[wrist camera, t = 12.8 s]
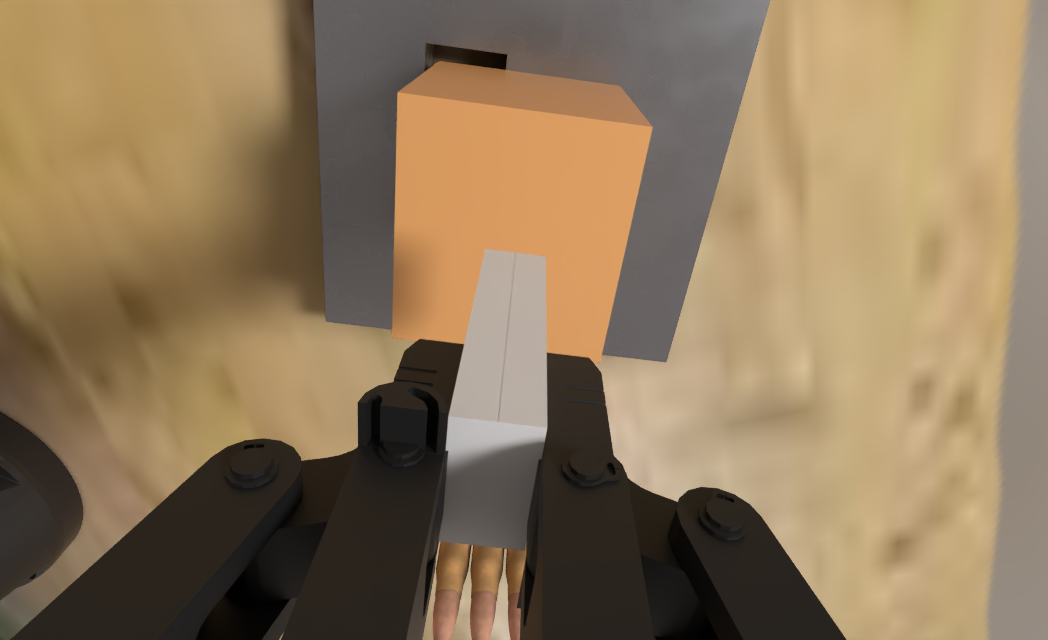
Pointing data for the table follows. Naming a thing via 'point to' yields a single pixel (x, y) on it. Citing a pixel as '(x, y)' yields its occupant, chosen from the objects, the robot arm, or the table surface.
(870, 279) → the table surface
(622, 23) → the socket plate
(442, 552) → the ammunition clip
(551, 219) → the cardboard-colored brick
